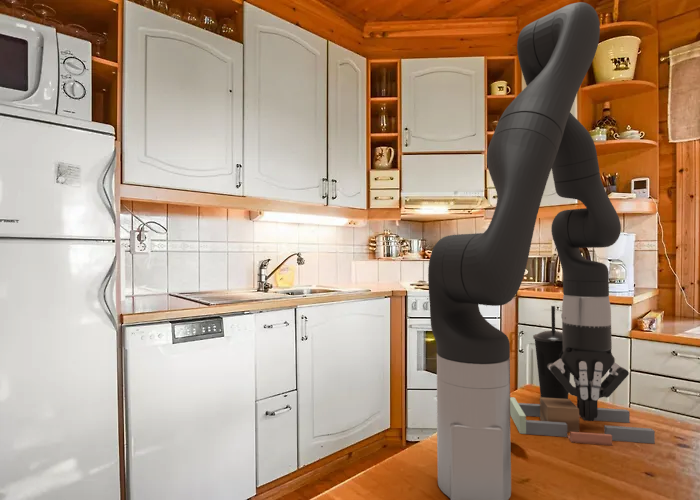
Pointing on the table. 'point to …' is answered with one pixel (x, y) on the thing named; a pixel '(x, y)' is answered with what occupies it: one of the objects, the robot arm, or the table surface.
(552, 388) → the drinking cup
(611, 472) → the table surface
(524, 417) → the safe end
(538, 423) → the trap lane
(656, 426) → the table surface
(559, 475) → the table surface
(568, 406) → the walnut block
